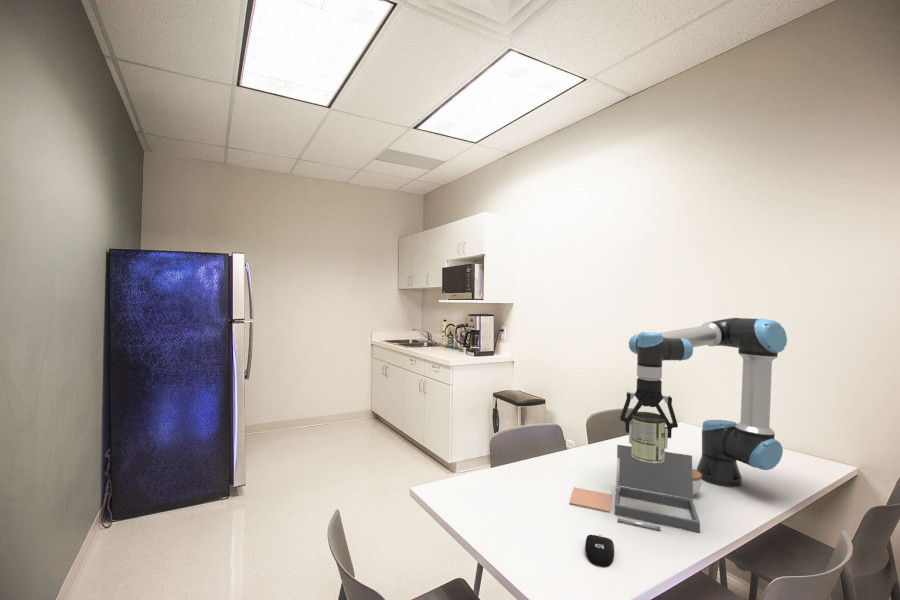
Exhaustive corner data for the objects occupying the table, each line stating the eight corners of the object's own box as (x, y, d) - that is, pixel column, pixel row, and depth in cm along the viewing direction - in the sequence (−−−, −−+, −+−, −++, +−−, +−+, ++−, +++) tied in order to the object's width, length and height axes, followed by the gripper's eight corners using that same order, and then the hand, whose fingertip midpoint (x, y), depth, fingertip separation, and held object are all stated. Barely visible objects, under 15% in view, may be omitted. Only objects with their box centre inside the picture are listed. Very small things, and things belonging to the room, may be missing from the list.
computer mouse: (583, 564, 108) (584, 548, 108) (586, 539, 119) (586, 526, 119) (614, 571, 105) (614, 556, 105) (614, 546, 116) (614, 532, 116)
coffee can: (630, 450, 143) (631, 410, 144) (663, 455, 139) (664, 413, 139) (630, 460, 134) (631, 417, 134) (665, 465, 130) (666, 421, 130)
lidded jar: (697, 488, 154) (697, 463, 154) (705, 501, 144) (705, 475, 144) (665, 484, 157) (666, 459, 157) (670, 496, 147) (671, 470, 147)
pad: (611, 496, 146) (611, 494, 146) (609, 512, 134) (609, 511, 134) (574, 488, 152) (574, 487, 152) (569, 504, 140) (569, 502, 140)
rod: (660, 529, 125) (660, 526, 125) (660, 531, 124) (660, 528, 124) (617, 520, 130) (617, 517, 130) (617, 522, 129) (617, 518, 129)
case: (690, 503, 142) (691, 455, 142) (699, 532, 124) (700, 477, 124) (615, 489, 152) (616, 443, 152) (613, 514, 134) (614, 462, 134)
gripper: (686, 379, 136) (684, 446, 136) (613, 373, 145) (611, 436, 145) (689, 383, 129) (687, 454, 129) (612, 377, 138) (611, 442, 138)
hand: (647, 444), depth 137 cm, fingers closed on coffee can, 10 cm apart
